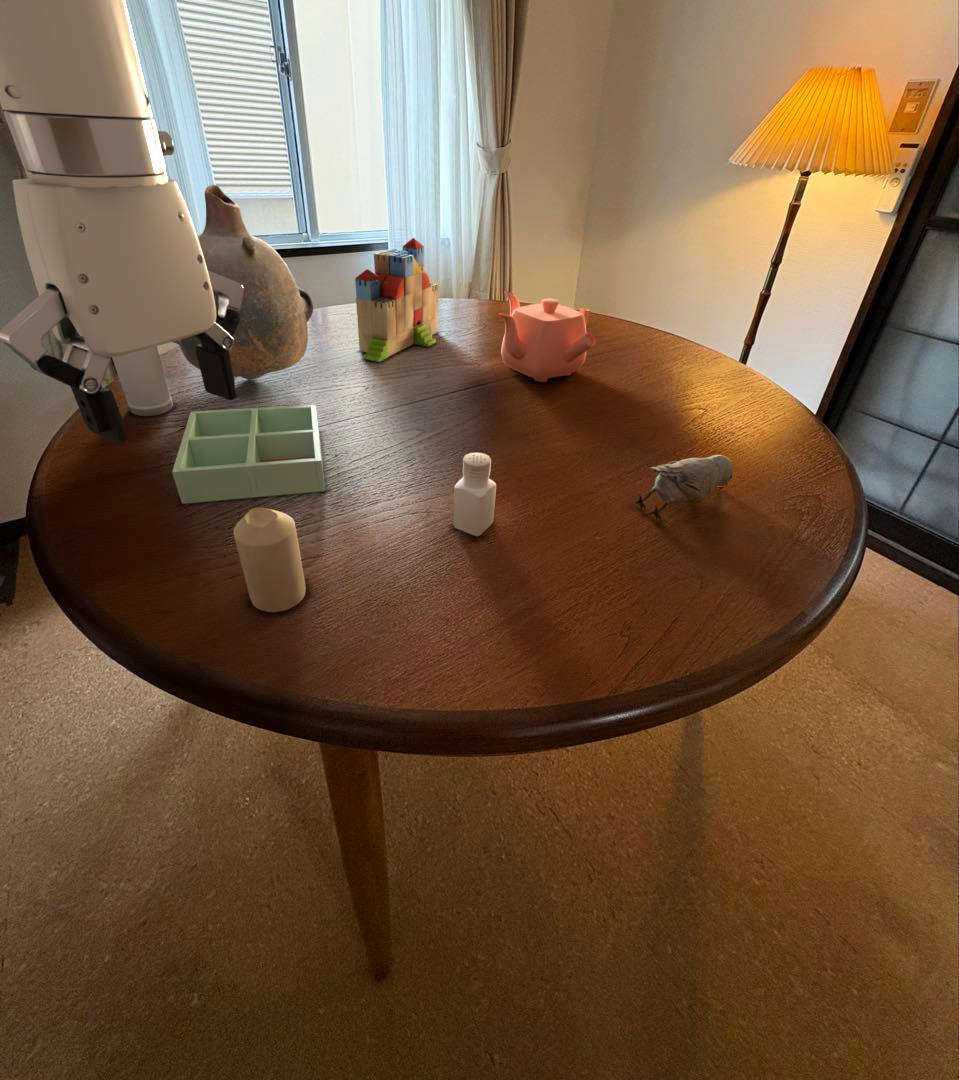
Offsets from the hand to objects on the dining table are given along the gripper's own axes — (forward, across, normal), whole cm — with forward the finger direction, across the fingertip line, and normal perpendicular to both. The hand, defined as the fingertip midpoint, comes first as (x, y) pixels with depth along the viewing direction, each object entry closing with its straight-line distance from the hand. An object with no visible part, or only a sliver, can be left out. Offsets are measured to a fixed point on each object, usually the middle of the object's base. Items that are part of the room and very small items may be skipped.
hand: (171, 415), depth 44 cm
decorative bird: (+21, -47, +35) cm, 62 cm away
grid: (+20, -21, -19) cm, 35 cm away
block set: (+21, -77, -36) cm, 87 cm away
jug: (+21, -42, -43) cm, 64 cm away
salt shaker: (+21, -26, +14) cm, 36 cm away
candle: (+21, -4, +3) cm, 21 cm away
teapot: (+21, -80, -3) cm, 83 cm away
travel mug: (+21, -24, -46) cm, 55 cm away
